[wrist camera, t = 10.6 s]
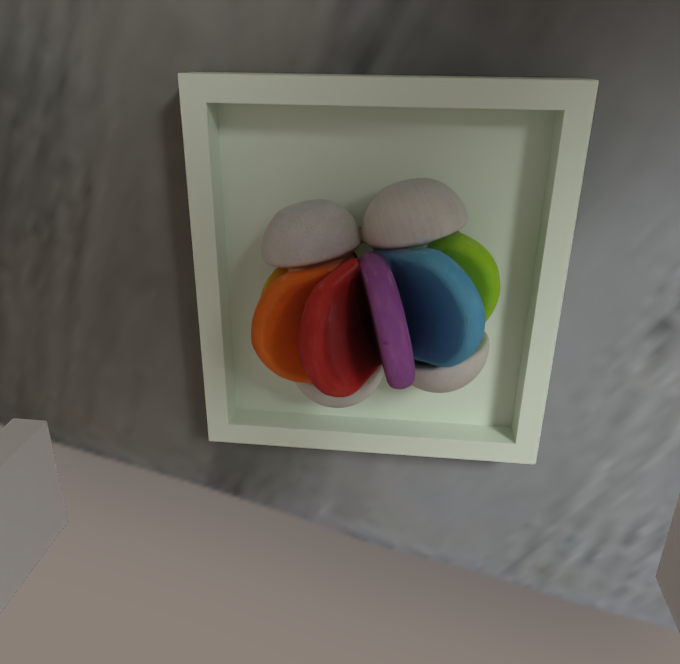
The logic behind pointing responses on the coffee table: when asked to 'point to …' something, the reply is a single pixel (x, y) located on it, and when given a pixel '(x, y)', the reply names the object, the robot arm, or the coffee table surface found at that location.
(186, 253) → the coffee table surface
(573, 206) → the tray
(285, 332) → the rainbow lobed toy
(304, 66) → the coffee table surface
